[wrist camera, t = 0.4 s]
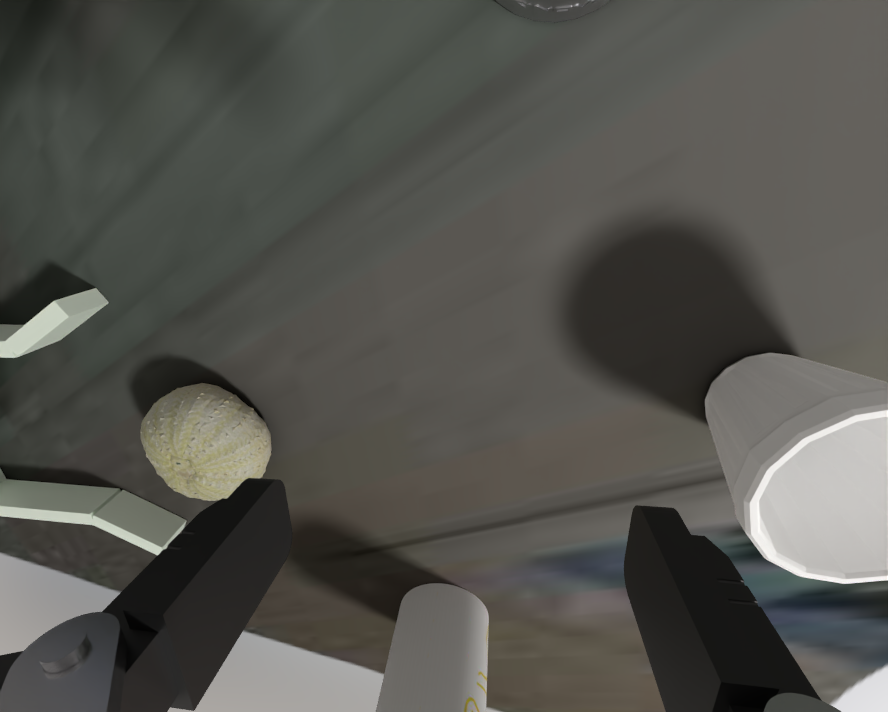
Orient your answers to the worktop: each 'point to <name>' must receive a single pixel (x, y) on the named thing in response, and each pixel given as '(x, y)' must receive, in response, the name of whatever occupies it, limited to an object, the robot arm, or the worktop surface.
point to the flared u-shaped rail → (77, 501)
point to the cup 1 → (437, 653)
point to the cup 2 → (806, 463)
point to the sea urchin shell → (205, 441)
